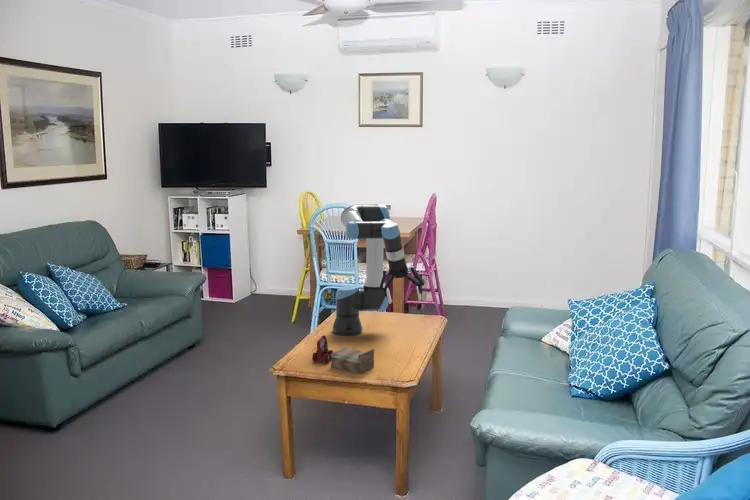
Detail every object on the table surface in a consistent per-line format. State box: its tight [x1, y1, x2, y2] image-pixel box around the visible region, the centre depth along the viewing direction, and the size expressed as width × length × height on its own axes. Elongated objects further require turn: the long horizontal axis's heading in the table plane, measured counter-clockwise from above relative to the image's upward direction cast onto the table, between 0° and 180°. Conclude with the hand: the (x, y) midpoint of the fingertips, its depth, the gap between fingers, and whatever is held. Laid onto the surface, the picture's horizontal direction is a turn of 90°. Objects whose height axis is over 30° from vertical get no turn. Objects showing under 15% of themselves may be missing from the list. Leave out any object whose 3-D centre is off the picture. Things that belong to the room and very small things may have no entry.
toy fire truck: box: [311, 335, 334, 364], centre depth 271 cm, size 7×12×10 cm, turn 168°
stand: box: [330, 347, 375, 375], centre depth 262 cm, size 15×10×8 cm
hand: (405, 300), depth 276 cm, fingers open, 13 cm apart
